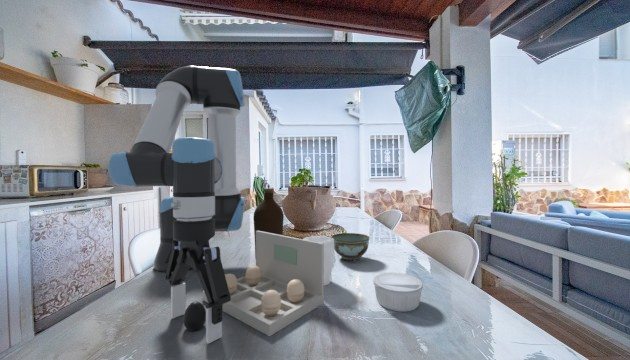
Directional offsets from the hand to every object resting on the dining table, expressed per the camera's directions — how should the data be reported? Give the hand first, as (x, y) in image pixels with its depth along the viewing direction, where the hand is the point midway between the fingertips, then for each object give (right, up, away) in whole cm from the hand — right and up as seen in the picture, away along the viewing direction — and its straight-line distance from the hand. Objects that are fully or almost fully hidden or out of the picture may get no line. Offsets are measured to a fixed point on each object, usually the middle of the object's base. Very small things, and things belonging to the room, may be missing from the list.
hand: (194, 326), depth 53 cm
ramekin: (+43, 0, +11) cm, 44 cm away
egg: (0, 0, 0) cm, 0 cm away
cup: (+24, 0, +23) cm, 33 cm away
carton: (+11, 0, +11) cm, 15 cm away
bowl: (+36, 0, +44) cm, 57 cm away
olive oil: (+7, 0, +44) cm, 45 cm away
